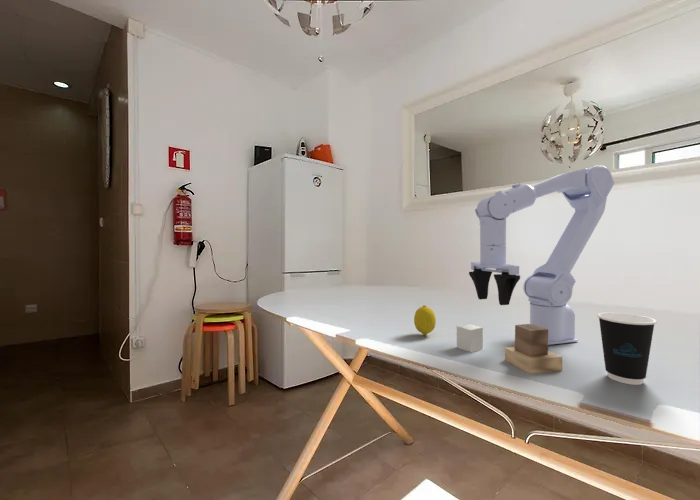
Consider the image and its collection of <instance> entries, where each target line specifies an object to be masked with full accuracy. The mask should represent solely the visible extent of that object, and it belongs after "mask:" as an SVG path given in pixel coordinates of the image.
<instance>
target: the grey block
mask: <svg viewBox="0 0 700 500" xmlns="http://www.w3.org/2000/svg"><path fill="white" fill-rule="evenodd" d="M483 330H484V328H483V327H482V326H478V325H474V324H470V323H467V324H466V323H465V324H460V325H456V348H457V349H461V350H463V351H466V352H470V353H474V352H477V351H481V350H483V349H484V348H483V347H484V340H483V339H484V337H483V335H484V334H483V333H484V331H483Z"/></svg>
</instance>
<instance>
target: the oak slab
mask: <svg viewBox="0 0 700 500" xmlns="http://www.w3.org/2000/svg"><path fill="white" fill-rule="evenodd" d="M504 361H506V362H508V363H510V364H511V365H513V366H514V367H517V369H520V370H521V371H524V372H526V373H527V374H539V373H540V374H541V373H552V372H553V373H554V372H562V371H563V356H561V355H559V354H557V353H554V352H552V351H550V350H548V355H541V356H532V357H530V356H528V355H526V354H524V353H521V352H519V351H517V350H515V346H511V347H510V346H508V347H505V348H504Z"/></svg>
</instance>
